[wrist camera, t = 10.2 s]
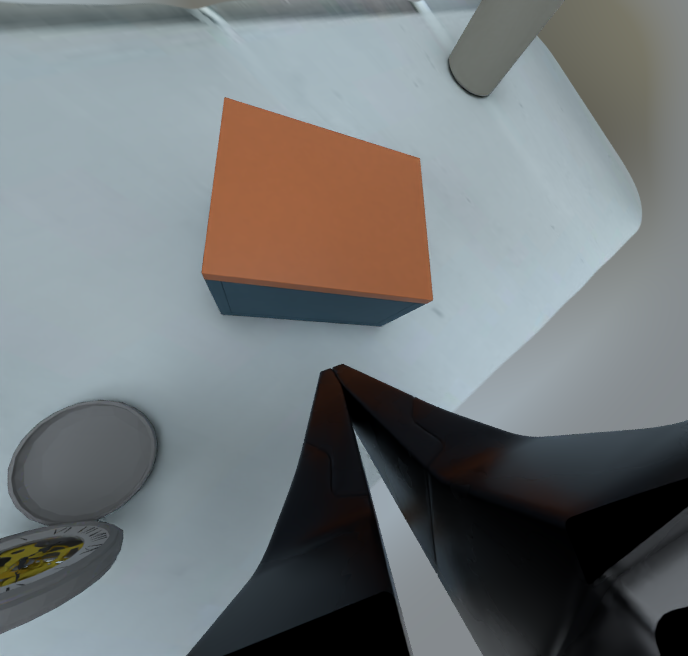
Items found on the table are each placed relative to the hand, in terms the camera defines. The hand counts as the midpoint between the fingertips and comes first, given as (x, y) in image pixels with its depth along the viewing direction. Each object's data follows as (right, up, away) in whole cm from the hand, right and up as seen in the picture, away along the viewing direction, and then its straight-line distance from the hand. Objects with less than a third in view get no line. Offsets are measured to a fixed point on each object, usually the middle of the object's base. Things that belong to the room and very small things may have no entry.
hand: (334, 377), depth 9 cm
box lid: (-1, +9, +8) cm, 12 cm away
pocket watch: (-15, -7, +7) cm, 18 cm away
